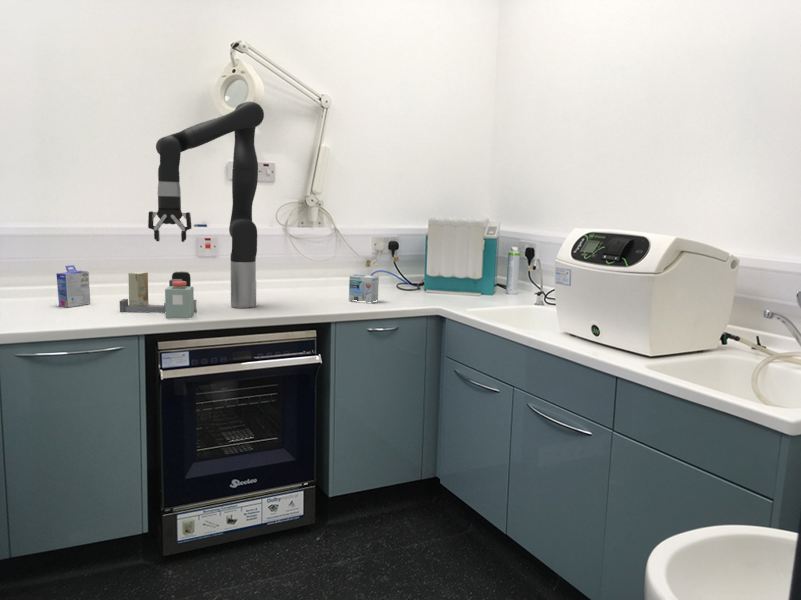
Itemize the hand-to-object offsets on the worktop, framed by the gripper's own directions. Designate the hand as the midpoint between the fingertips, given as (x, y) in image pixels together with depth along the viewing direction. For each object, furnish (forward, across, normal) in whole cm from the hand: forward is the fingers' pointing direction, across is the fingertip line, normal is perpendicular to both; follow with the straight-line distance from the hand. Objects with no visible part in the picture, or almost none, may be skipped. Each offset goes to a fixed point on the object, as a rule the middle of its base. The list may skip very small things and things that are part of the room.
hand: (170, 241), depth 228 cm
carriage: (+25, -2, +2) cm, 25 cm away
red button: (+23, -5, +12) cm, 26 cm away
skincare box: (+25, +14, -11) cm, 31 cm away
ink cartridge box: (+25, +36, -9) cm, 45 cm away
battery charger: (+25, +1, -23) cm, 34 cm away
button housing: (+25, -5, +12) cm, 28 cm away
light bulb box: (+25, -71, -24) cm, 80 cm away
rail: (+25, +4, +2) cm, 25 cm away
